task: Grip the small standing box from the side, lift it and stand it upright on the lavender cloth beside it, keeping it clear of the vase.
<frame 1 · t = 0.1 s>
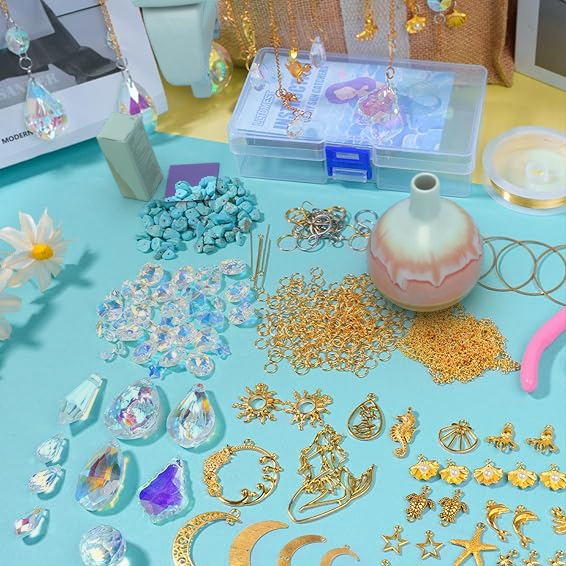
hand: (208, 63, 85), 27 cm above the table, tool pointing down, fingers open, 8 cm apart
box: (143, 188, 115), on the table
vase: (424, 287, 101), on the table
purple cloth: (192, 183, 115), on the table
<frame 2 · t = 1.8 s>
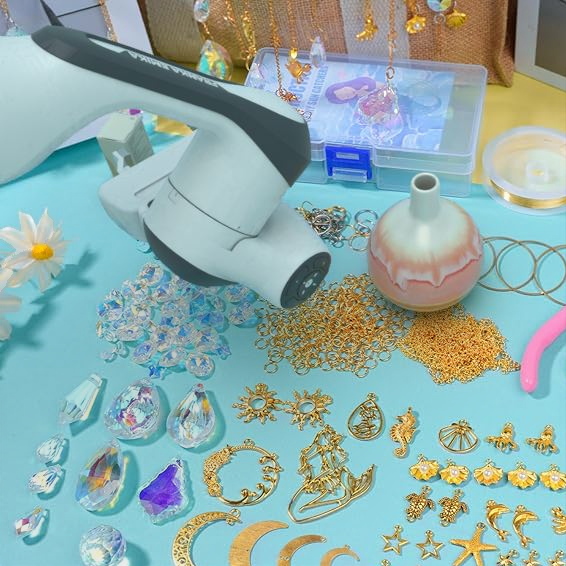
hand: (154, 134, 95), 17 cm above the table, tool horizontal, fingers open, 8 cm apart
nothing on the table moved.
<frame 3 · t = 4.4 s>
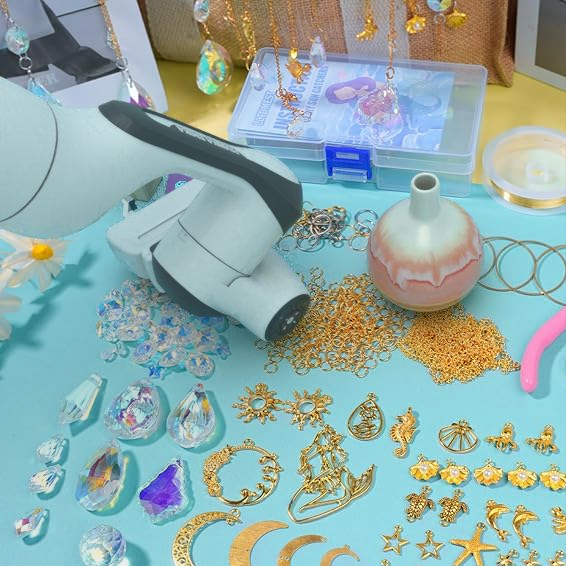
hand: (155, 180, 107), 6 cm above the table, tool horizontal, fingers open, 8 cm apart
nothing on the table moved.
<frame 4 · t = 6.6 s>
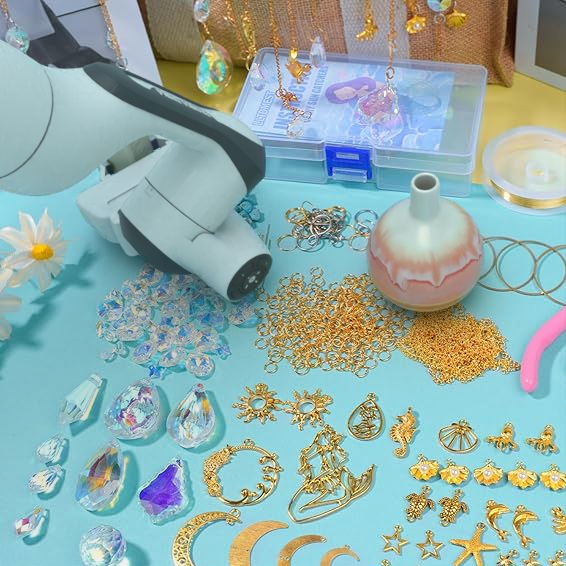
hand: (125, 150, 110), 6 cm above the table, tool horizontal, fingers closed on box, 6 cm apart
box: (143, 188, 115), on the table, touching gripper
everything else where it was.
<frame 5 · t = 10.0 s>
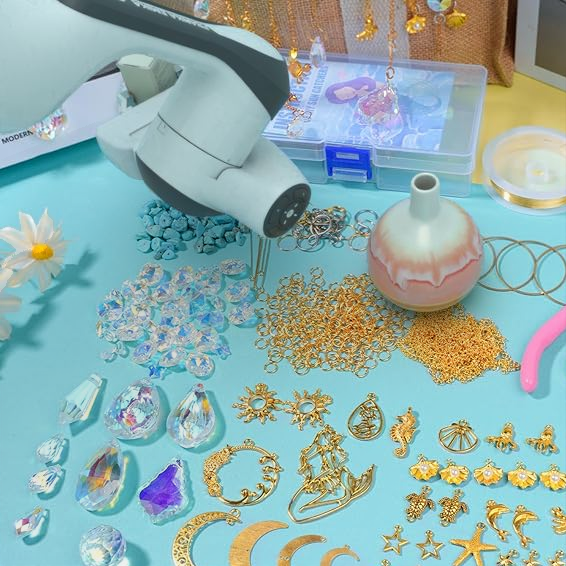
hand: (148, 82, 101), 17 cm above the table, tool horizontal, fingers closed on box, 6 cm apart
box: (167, 126, 106), point 10 cm above the table, touching gripper
everything else where it was.
when the fingers open (6 cm above the table, at t = 13.5 s): box stays where it is, resting on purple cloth.
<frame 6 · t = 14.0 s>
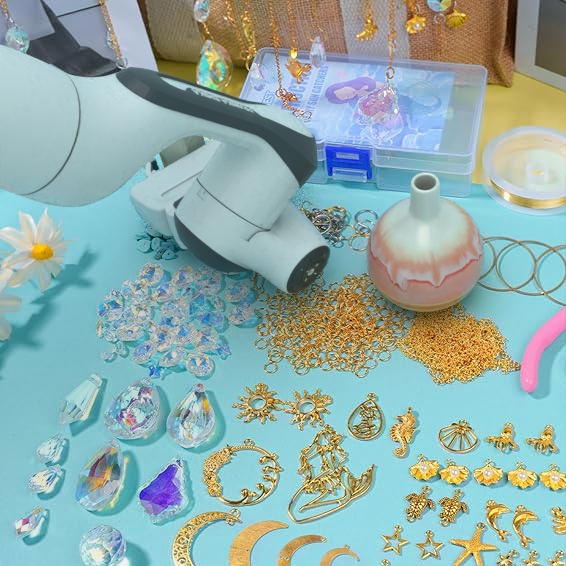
hand: (176, 142, 109), 7 cm above the table, tool horizontal, fingers open, 8 cm apart
box: (193, 184, 114), resting on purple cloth
everything else where it was.
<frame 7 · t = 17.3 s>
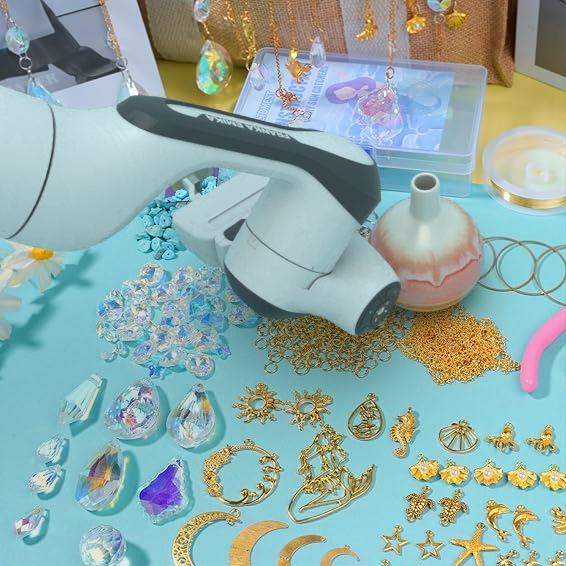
hand: (221, 161, 99), 12 cm above the table, tool horizontal, fingers open, 8 cm apart
nothing on the table moved.
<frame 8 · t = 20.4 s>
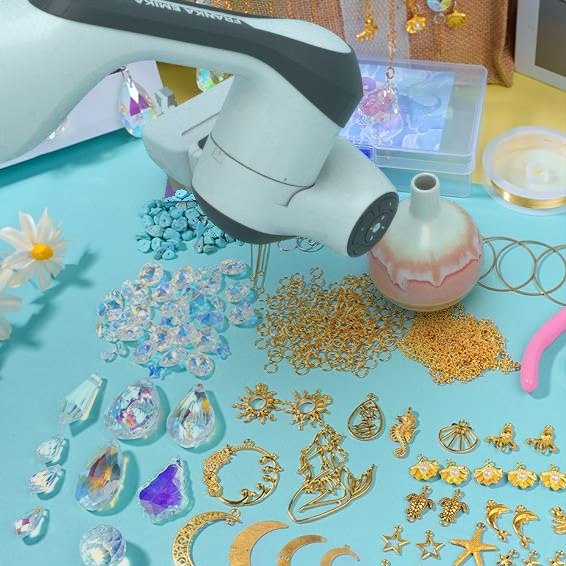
hand: (198, 74, 88), 25 cm above the table, tool horizontal, fingers open, 8 cm apart
nothing on the table moved.
at the end: box 0.4 cm off-centre on the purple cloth, point 0.1 cm above the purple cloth's base; box tilted 0°; box touching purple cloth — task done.
